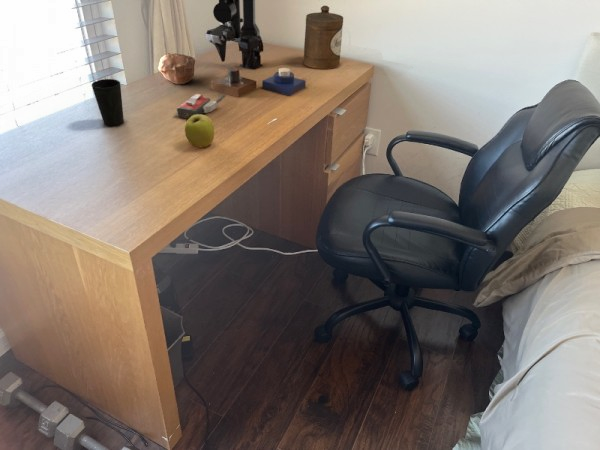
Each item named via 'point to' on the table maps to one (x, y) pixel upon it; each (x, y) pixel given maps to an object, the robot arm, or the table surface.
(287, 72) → the cap
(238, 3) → the robot arm
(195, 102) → the walkie-talkie
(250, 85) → the dial panel
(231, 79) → the dial
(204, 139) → the apple
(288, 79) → the button housing
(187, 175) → the table surface
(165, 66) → the decorative rock
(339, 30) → the wooden container
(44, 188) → the table surface
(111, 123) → the cup
